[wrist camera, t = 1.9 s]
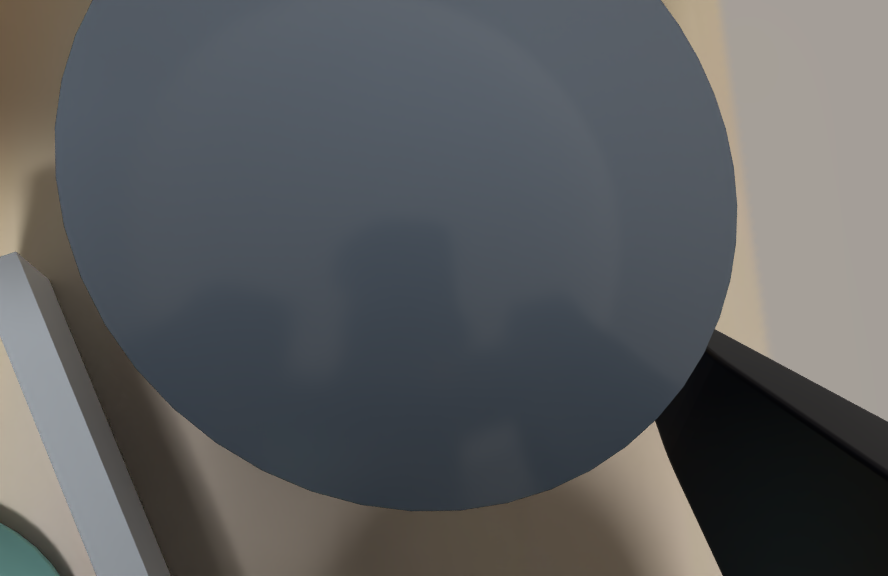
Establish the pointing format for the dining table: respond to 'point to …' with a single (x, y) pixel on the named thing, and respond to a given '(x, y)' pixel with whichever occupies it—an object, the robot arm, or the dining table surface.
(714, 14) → the dining table surface
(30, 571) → the coaster
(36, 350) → the acrylic wall
